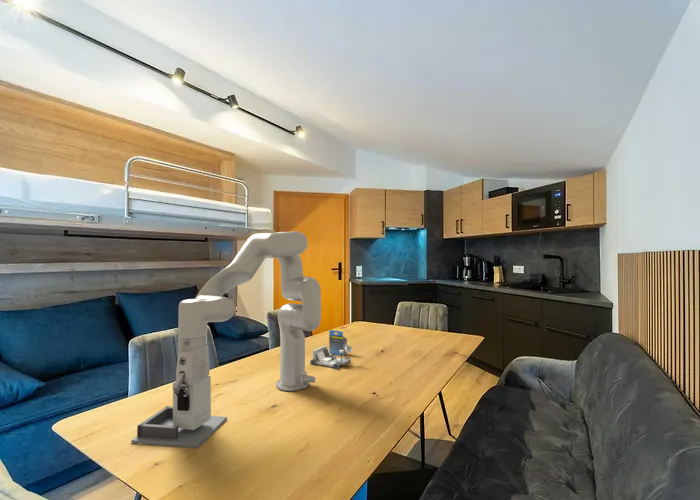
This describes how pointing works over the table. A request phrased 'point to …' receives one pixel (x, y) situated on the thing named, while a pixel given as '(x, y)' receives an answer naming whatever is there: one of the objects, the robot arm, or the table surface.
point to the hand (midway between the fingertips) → (192, 403)
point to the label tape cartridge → (337, 342)
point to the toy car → (330, 357)
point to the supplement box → (194, 406)
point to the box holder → (174, 431)
